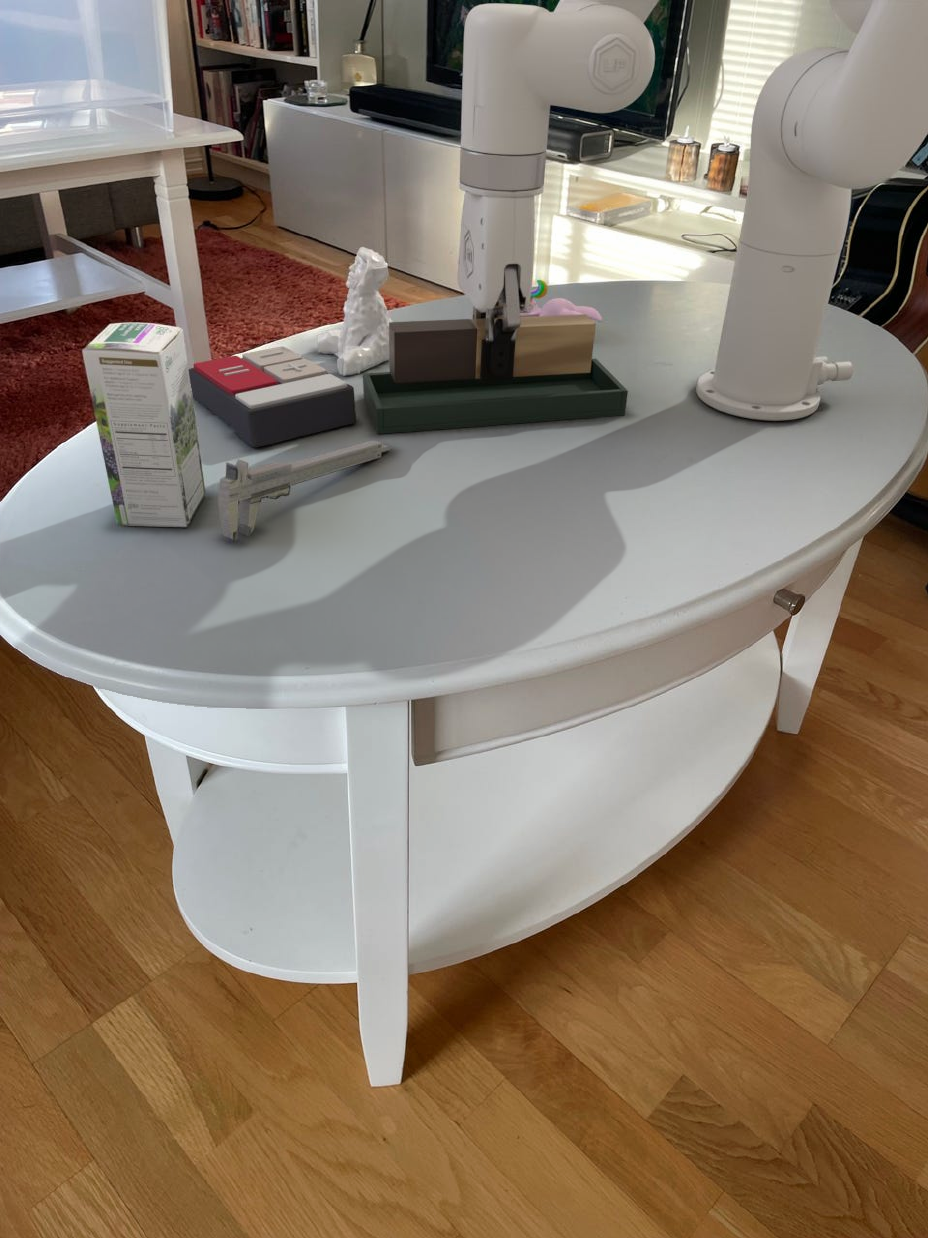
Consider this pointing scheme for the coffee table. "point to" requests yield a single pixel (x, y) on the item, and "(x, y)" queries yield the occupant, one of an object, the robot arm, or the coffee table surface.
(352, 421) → the calculator
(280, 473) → the caliper
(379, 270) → the sitting furry creature
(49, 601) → the coffee table surface
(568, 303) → the rabbit figure
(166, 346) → the syrup box
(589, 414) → the tray
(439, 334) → the two-tone wooden beam
